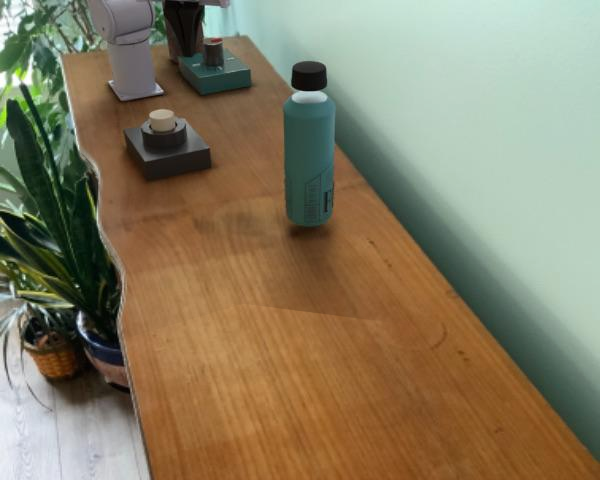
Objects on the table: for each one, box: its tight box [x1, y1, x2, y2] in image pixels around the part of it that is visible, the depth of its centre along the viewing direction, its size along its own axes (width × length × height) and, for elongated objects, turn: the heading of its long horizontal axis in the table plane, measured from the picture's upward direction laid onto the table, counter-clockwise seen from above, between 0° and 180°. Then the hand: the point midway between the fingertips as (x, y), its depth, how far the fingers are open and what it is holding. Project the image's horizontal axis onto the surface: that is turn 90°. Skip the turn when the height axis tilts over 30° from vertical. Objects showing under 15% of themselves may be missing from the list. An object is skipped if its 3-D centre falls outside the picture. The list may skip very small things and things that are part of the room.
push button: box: [148, 108, 176, 132], centre depth 93 cm, size 4×4×2 cm
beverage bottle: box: [282, 60, 337, 227], centre depth 77 cm, size 6×7×20 cm
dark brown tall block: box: [161, 2, 205, 65], centre depth 120 cm, size 8×7×20 cm
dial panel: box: [178, 48, 252, 96], centre depth 118 cm, size 12×10×3 cm
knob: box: [201, 36, 224, 66], centre depth 116 cm, size 4×4×4 cm
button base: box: [122, 116, 213, 182], centre depth 96 cm, size 12×10×5 cm
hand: (189, 55), depth 100 cm, fingers closed
